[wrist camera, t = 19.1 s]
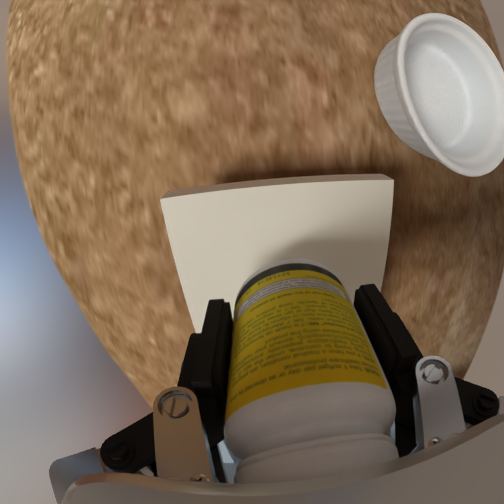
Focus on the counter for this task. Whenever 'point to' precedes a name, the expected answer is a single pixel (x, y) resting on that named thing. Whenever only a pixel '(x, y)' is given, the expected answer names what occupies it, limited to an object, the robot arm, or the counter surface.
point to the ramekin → (444, 93)
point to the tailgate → (277, 231)
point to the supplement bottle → (303, 379)
